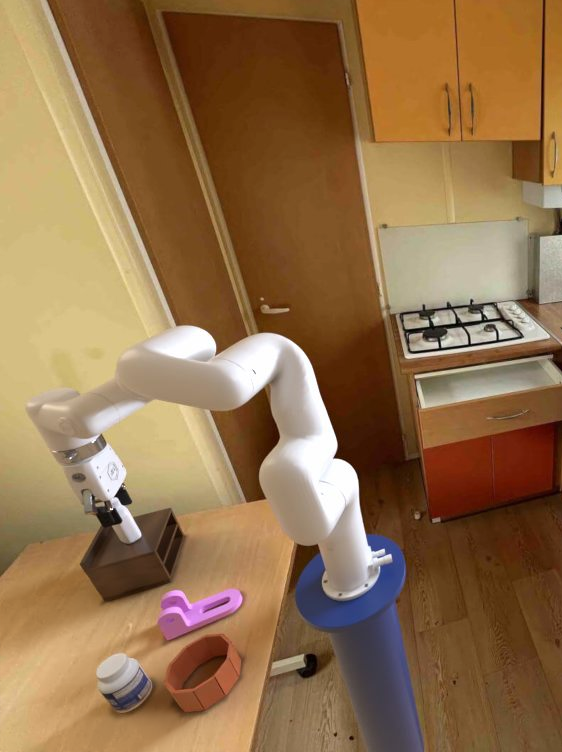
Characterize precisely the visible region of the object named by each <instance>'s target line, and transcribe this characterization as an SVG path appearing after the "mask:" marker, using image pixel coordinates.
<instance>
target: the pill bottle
mask: <svg viewBox="0 0 562 752" xmlns="http://www.w3.org/2000/svg"><path fill="white" fill-rule="evenodd" d="M95 676H96V678H97V679H98V682H97V689H98V692H99V693H100V694H101V695H102V696H103V698H104V699H105V700H106V701H107V702H108V703H109V705H110V706H111V707H112V708H113V709H114V710H115V712H117V713H121V714H122V713H129V712H131V711H133V710H134V709H137V708H138V707H140V705H142V704H143V703H144V702H145V701H146V700H147V698H148V697H149V695H150V694H151V692H152V689H153V682H152V680H151V679H150V677H149V675H148V674H147V672H146V671H145V670H144V669H143V667H142V665H141V664H140V662H139V661H138V660H137V659H136V658H134V657H128V656H127V655H126V653H124V652H117V653H115V654H112V655H110V656H109V657H107V658H106V659H105V660H103V661H102V662H101V663H100V664H99V666H98V667H97V669H96V671H95Z"/></svg>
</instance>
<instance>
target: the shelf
mask: <svg viewBox="0 0 562 752" xmlns="http://www.w3.org/2000/svg"><path fill="white" fill-rule="evenodd" d="M132 517H133V519H134V521H135V523H136V524H137V526H138V528H139V530H140V532H141V538H140V539H138V540H136V541H135V542H133V543H131V544H127V543H123V542H122V541H121V540H120V539H119V537H118V535H117V534H116V532H115V530H114V529H113V527H112V526H110V527H105V528H104V527H103V526H102V525H101V524H100V526H99V528H98V530H97V532H96V534H95V535H94V537H93V539H92V541H91V542H90V545H89V546H88V548H87V550H86V551H85V553H84V555H83V557H82V559H81V560H80V562H79V566H80V567H81V569H82V570H83V572H84V574H85V575H86V576H87V577H88V579H89V580H90V582H91V583H92V585H93V586H94V588H95V589H96V591H97V592H98V594H99V596H100V597H101V598H102V600H103V602H108V601H111V600H115V599H118V598H121V597H125V596H127V595H128V596H129V595H132V594H134V593H137V592H142V591H144V590H145V591H146V590H148V589H151V588H154V587H157V586H161V585H164V584H168V583H171V582H172V579H173V577H174V573H175V570H176V567H177V564H178V561H179V558H180V555H181V551H182V549H183V545H184V543H185V539H186V535H185V533H184V531H183V528H182V527H181V525H180V522H179V521H178V518H177V517H176V515H175V513H174V511H173V509H172V507H167V508H164V509H160V510H156V511H152V512H149V513H148V512H147V513H143V514H139V515H135V516H132Z"/></svg>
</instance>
